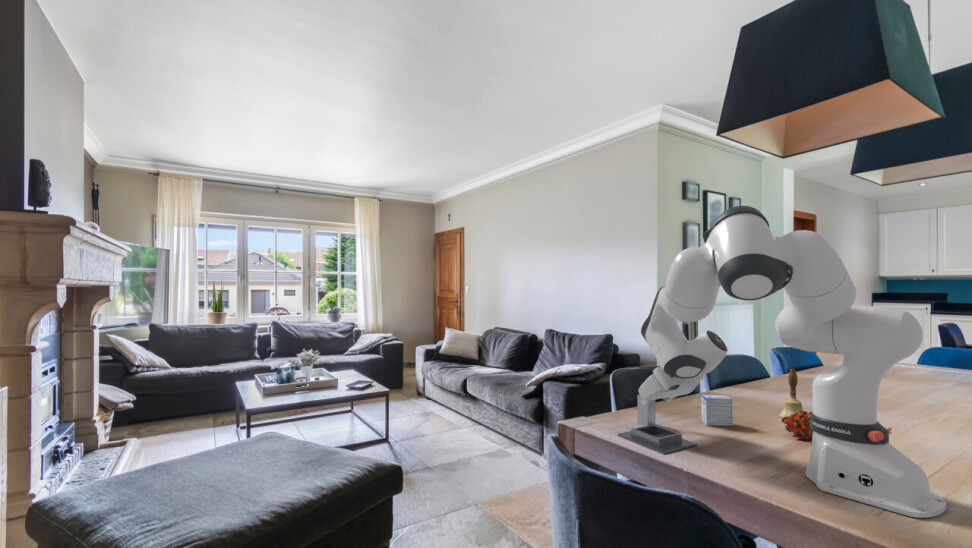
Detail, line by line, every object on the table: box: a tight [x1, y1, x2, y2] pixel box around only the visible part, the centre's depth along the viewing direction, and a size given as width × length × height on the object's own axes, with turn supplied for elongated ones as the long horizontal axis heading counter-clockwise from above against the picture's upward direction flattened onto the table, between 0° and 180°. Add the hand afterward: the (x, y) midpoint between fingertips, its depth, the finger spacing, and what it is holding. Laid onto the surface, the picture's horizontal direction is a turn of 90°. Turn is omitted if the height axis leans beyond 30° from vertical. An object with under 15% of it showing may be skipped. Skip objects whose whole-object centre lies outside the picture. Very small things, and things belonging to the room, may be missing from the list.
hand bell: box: [778, 368, 804, 419], centre depth 147 cm, size 8×8×16 cm
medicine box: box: [700, 394, 734, 427], centre depth 139 cm, size 8×4×9 cm, turn 84°
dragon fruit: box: [781, 410, 813, 442], centre depth 126 cm, size 8×8×12 cm
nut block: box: [636, 393, 657, 426], centre depth 138 cm, size 4×4×9 cm
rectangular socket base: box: [617, 424, 698, 455], centre depth 123 cm, size 16×13×3 cm
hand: (654, 401), depth 135 cm, fingers open, 8 cm apart
